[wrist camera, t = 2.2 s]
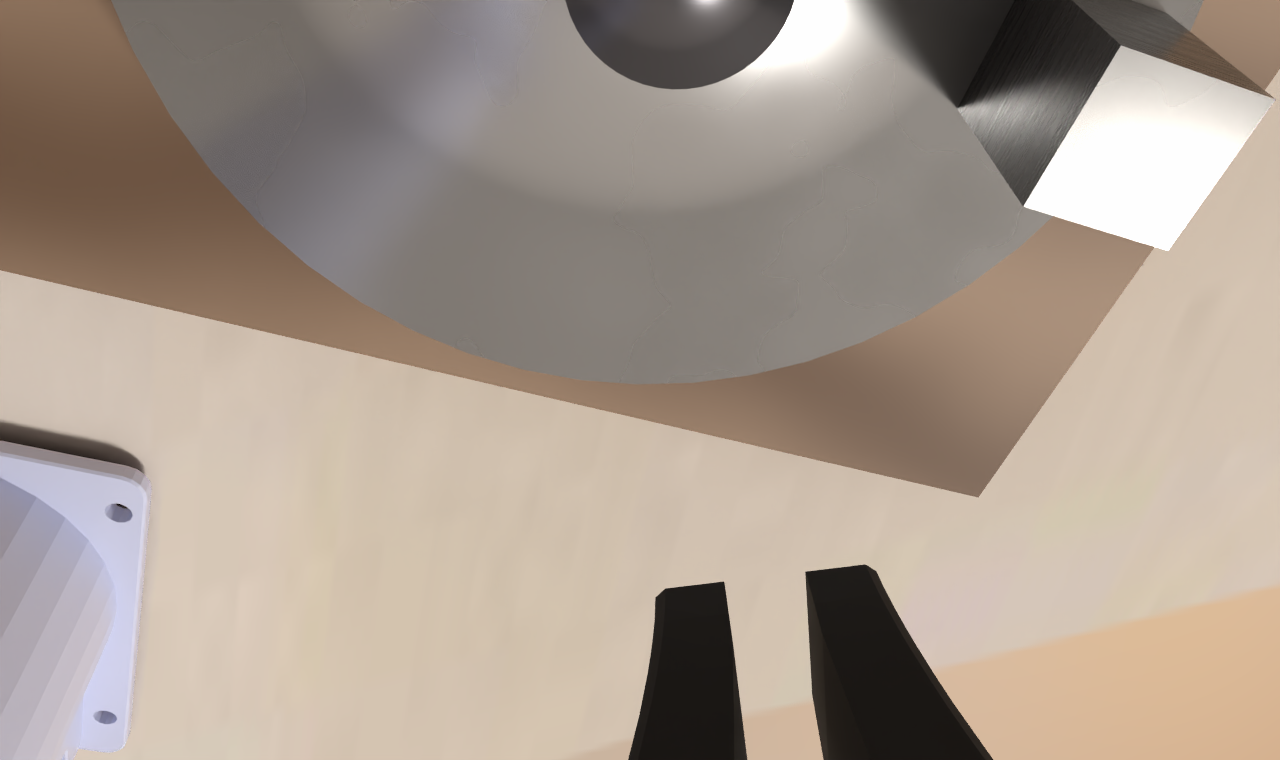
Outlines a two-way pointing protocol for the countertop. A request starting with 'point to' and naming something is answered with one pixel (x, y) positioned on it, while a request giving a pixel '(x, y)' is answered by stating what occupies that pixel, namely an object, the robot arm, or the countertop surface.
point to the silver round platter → (689, 157)
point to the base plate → (325, 314)
